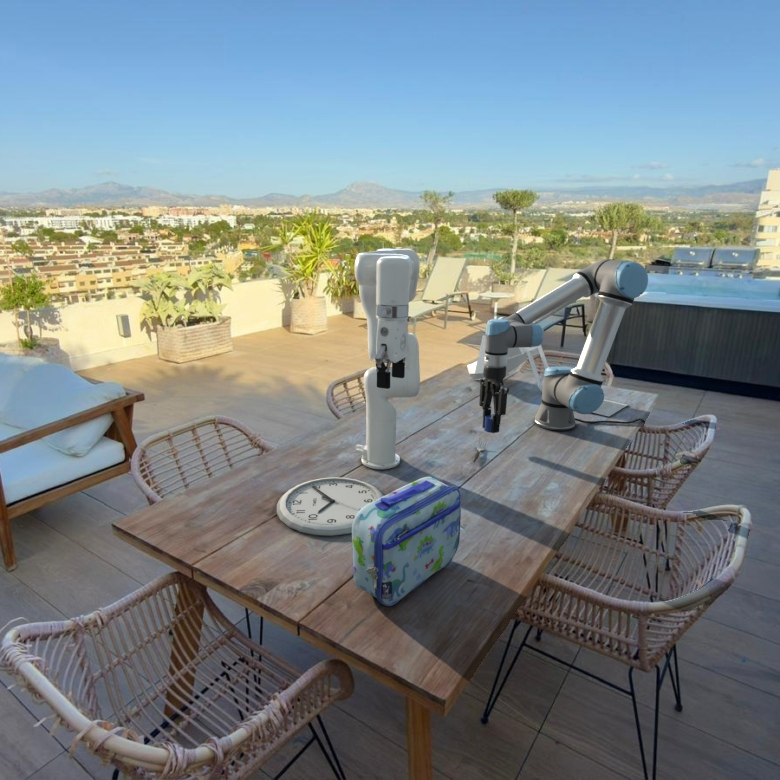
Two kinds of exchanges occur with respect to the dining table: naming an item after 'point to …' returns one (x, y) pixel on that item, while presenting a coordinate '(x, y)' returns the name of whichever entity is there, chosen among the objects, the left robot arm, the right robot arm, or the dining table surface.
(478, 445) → the fork
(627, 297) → the right robot arm
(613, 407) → the invitation card
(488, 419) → the can
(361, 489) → the wall clock
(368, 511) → the lunch box
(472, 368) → the white plastic object
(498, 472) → the dining table surface
